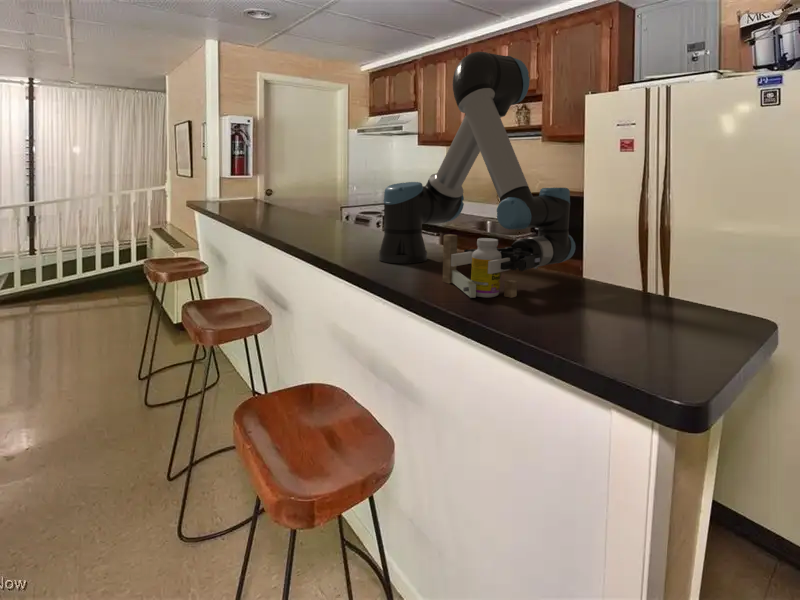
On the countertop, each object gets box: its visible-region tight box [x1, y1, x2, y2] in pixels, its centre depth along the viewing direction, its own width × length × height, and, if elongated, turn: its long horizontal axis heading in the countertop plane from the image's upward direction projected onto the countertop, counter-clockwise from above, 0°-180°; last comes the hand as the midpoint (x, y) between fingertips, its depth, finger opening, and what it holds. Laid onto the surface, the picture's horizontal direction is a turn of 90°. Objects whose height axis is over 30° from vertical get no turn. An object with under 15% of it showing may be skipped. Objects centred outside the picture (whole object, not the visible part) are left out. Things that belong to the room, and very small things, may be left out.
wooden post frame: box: [442, 233, 518, 299], centre depth 128 cm, size 22×2×12 cm, turn 41°
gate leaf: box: [451, 269, 477, 299], centre depth 127 cm, size 16×2×3 cm, turn 10°
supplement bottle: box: [470, 237, 502, 299], centre depth 122 cm, size 7×7×13 cm
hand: (470, 263), depth 118 cm, fingers open, 10 cm apart
